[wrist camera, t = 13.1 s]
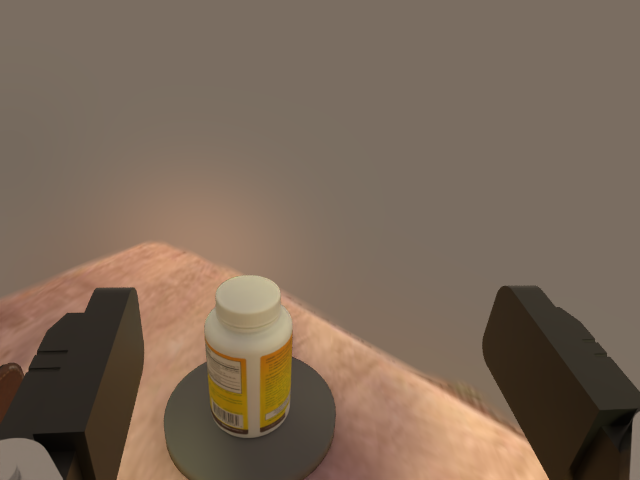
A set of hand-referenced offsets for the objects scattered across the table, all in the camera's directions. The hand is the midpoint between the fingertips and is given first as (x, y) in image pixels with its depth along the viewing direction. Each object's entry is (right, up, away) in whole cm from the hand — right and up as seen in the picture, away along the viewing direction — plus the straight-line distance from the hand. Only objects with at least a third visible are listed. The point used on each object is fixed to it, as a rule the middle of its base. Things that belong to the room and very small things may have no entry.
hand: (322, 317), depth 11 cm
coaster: (-5, -11, +25) cm, 28 cm away
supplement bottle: (-5, -10, +25) cm, 27 cm away
